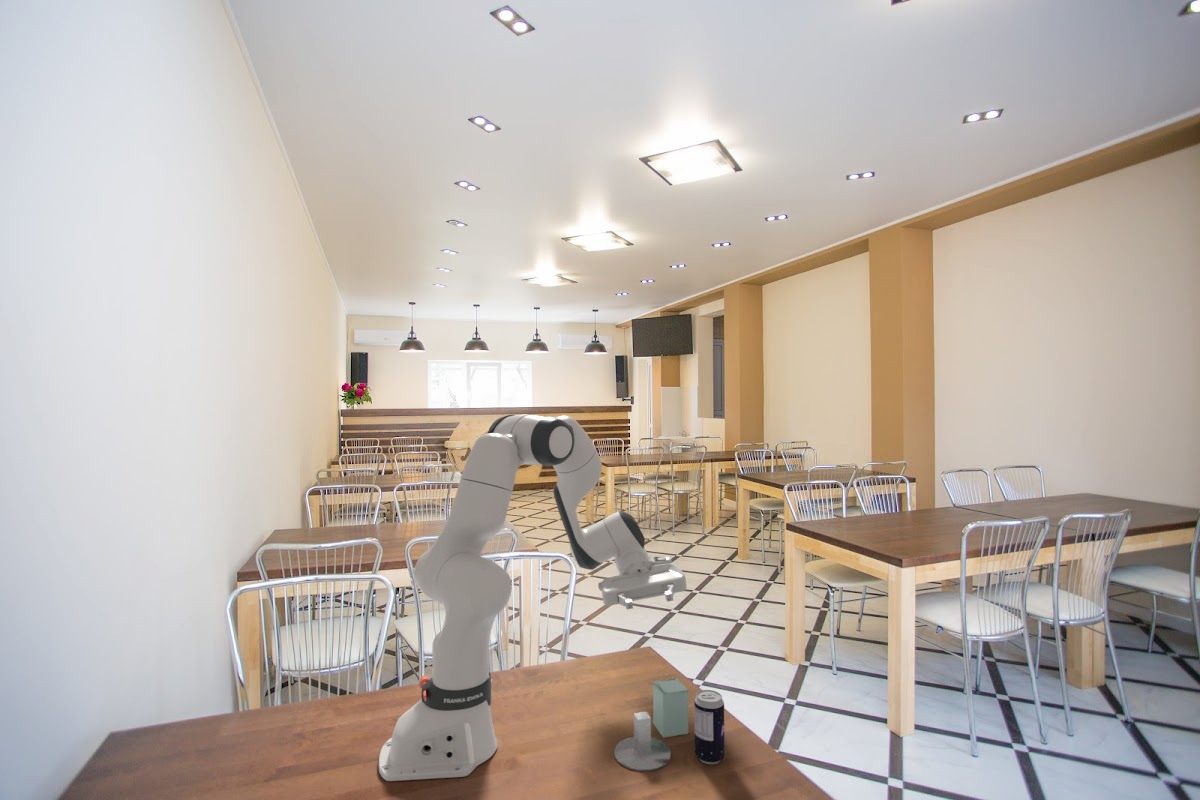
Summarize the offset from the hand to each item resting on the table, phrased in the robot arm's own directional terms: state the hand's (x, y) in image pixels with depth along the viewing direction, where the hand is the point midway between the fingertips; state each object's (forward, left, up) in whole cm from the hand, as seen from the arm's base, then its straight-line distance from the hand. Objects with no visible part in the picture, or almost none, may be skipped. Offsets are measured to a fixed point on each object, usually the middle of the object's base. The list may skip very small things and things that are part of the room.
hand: (649, 602), depth 134 cm
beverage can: (+4, -21, -24) cm, 32 cm away
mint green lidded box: (+1, -9, -24) cm, 26 cm away
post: (-8, -16, -24) cm, 30 cm away
